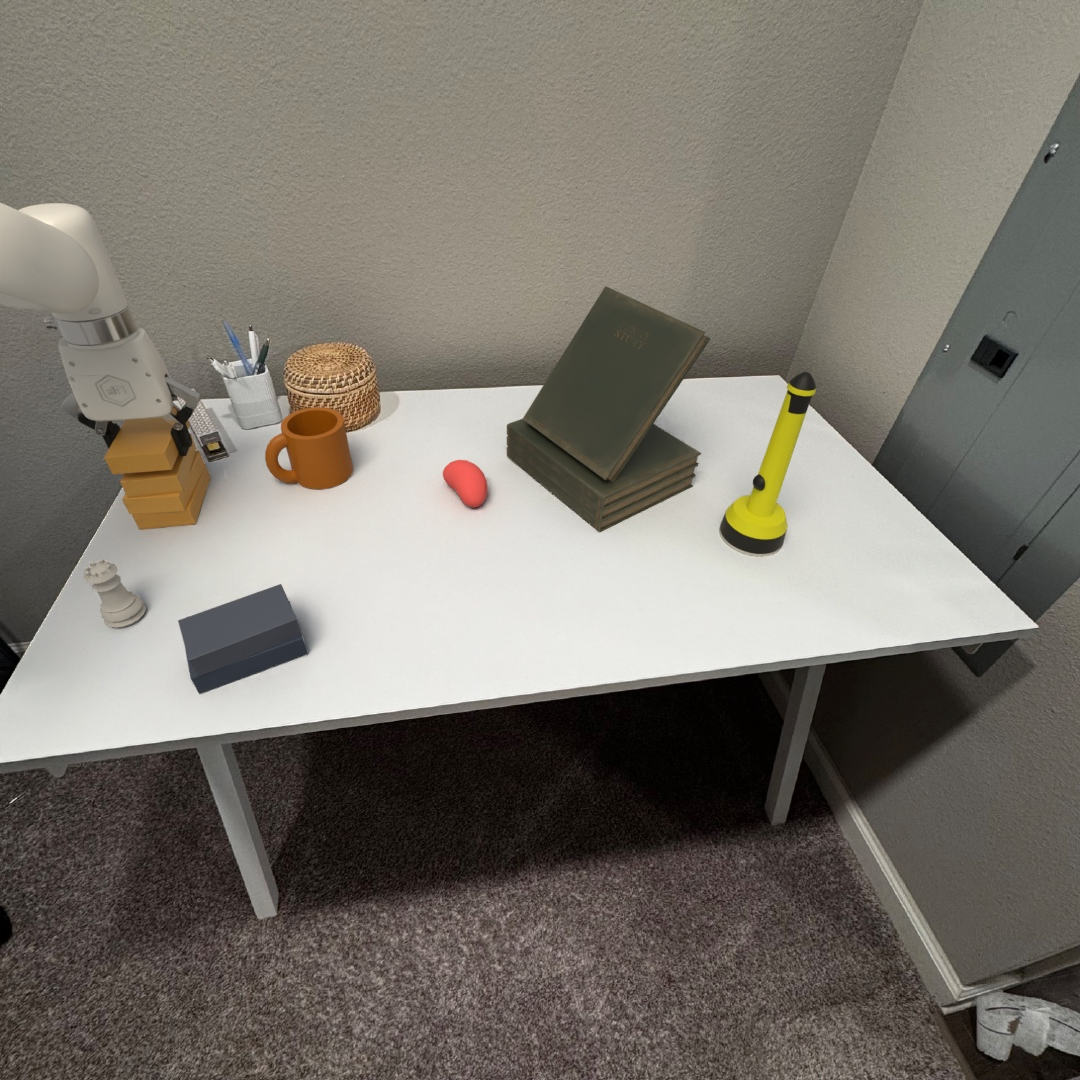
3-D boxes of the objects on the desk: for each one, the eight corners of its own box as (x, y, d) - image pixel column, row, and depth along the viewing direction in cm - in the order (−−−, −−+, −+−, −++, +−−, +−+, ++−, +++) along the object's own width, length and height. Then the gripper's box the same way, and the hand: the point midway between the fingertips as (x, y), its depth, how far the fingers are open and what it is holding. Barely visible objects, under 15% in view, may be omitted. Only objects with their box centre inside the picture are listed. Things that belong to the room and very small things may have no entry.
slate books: (199, 695, 66) (181, 662, 62) (191, 650, 70) (173, 617, 66) (309, 655, 70) (298, 622, 67) (295, 615, 75) (284, 582, 71)
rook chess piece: (135, 630, 72) (106, 582, 67) (97, 629, 72) (64, 580, 67) (154, 602, 75) (128, 554, 70) (117, 601, 75) (88, 552, 70)
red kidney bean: (483, 483, 98) (464, 448, 95) (500, 496, 90) (480, 460, 87) (455, 500, 97) (435, 466, 95) (470, 515, 90) (448, 479, 87)
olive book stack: (506, 457, 101) (506, 303, 85) (597, 422, 111) (613, 278, 94) (598, 533, 88) (619, 368, 71) (693, 486, 97) (731, 331, 81)
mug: (269, 467, 97) (253, 416, 91) (347, 452, 101) (337, 402, 95) (276, 500, 91) (260, 448, 85) (359, 482, 95) (349, 431, 89)
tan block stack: (196, 525, 86) (176, 479, 81) (136, 531, 85) (112, 484, 80) (211, 477, 95) (194, 432, 90) (157, 481, 93) (137, 436, 88)
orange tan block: (171, 469, 80) (164, 452, 79) (112, 474, 79) (103, 457, 78) (190, 425, 89) (183, 409, 87) (136, 429, 87) (128, 413, 86)
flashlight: (815, 352, 77) (752, 360, 74) (864, 386, 70) (797, 395, 68) (760, 510, 93) (707, 521, 91) (796, 549, 87) (740, 561, 85)
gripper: (-1, 342, 68) (74, 474, 80) (171, 334, 71) (218, 463, 83) (27, 315, 74) (93, 443, 86) (185, 309, 77) (228, 433, 89)
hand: (154, 452), depth 84 cm, fingers closed on orange tan block, 7 cm apart
